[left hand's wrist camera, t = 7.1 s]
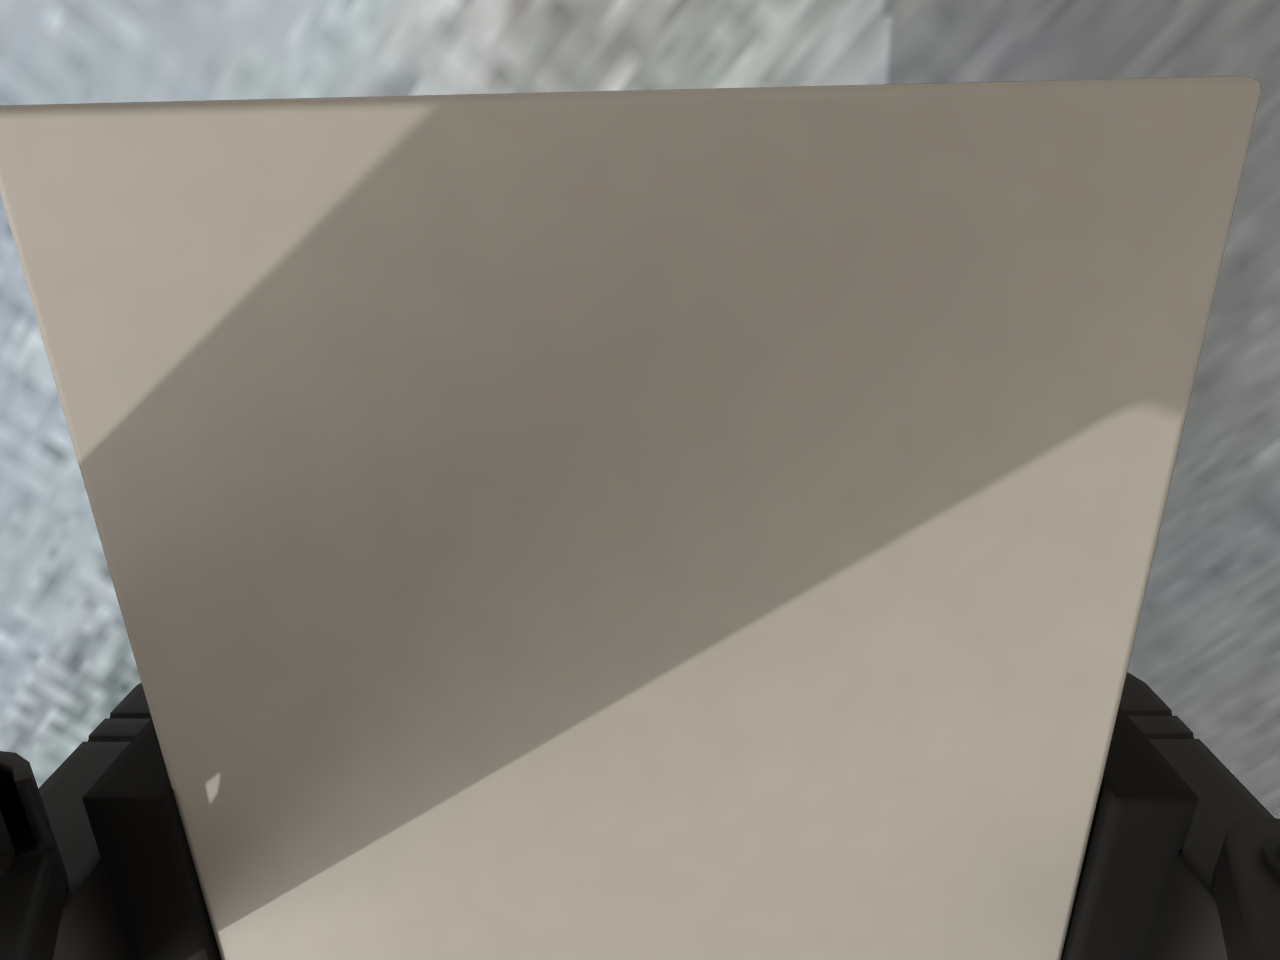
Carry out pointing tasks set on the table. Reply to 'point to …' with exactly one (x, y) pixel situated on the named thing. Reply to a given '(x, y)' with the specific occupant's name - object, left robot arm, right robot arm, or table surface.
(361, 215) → the wide beam
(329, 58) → the table surface
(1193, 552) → the table surface
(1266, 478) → the table surface
